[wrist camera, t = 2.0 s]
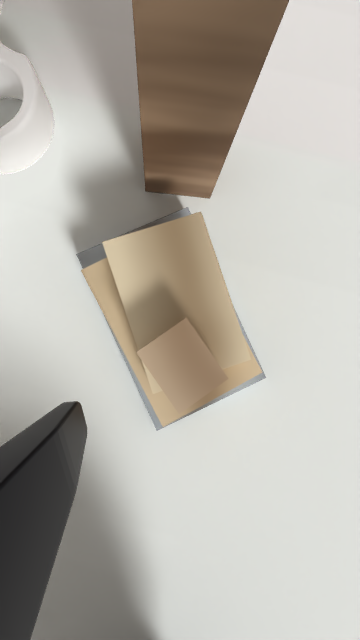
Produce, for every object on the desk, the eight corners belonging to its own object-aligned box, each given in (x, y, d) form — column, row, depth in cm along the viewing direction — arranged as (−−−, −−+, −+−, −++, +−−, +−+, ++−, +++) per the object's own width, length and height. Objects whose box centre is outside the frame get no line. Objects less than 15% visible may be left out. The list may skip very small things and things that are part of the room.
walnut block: (210, 198, 20) (305, -42, 7) (145, 191, 20) (127, -71, 7) (214, 136, 20) (316, -205, 8) (150, 128, 20) (142, -239, 7)
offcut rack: (156, 425, 19) (157, 464, 14) (80, 258, 20) (48, 226, 14) (260, 375, 20) (303, 392, 14) (186, 213, 20) (198, 164, 14)
